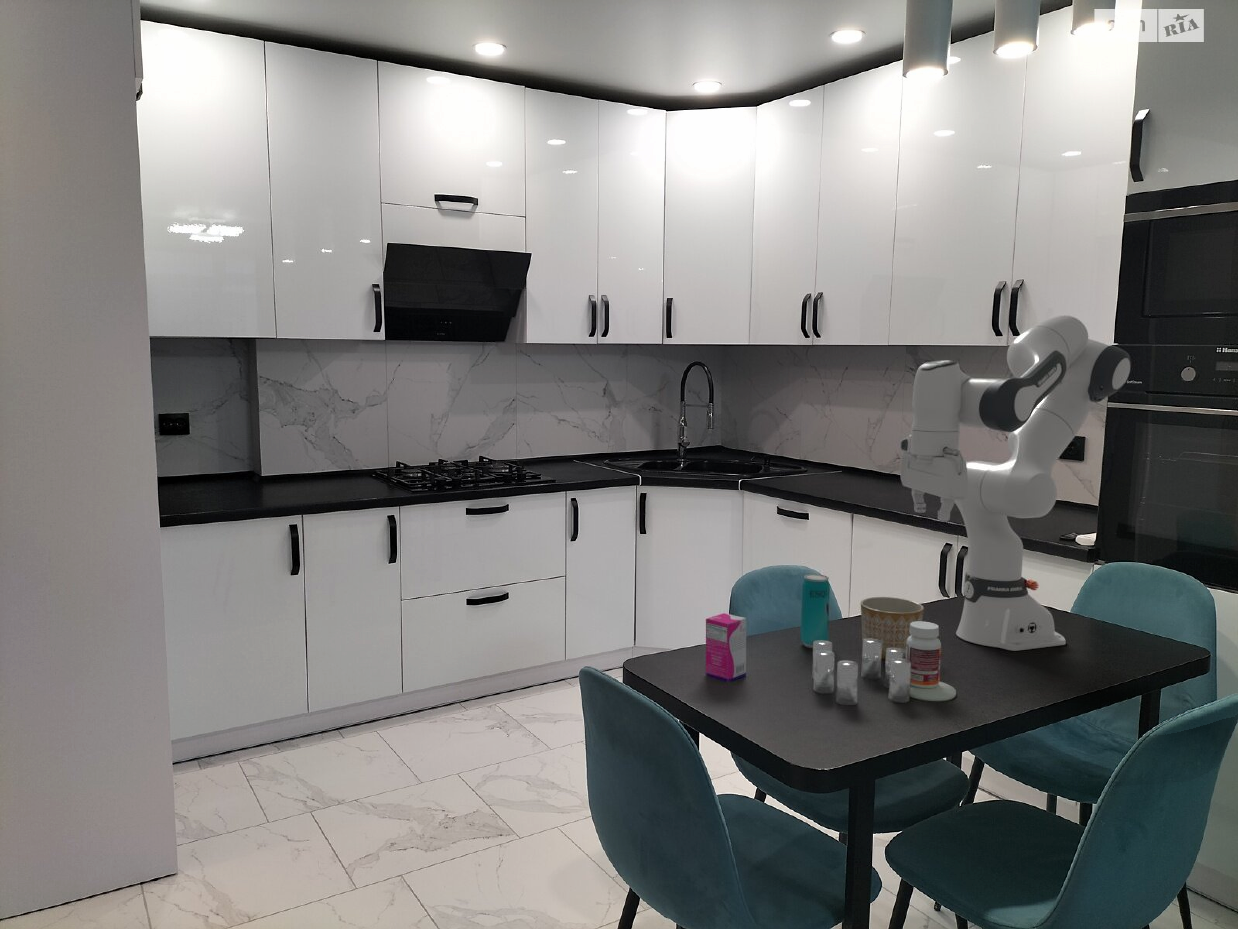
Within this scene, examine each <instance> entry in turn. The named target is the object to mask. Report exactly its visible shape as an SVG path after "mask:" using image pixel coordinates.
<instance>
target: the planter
mask: <svg viewBox="0 0 1238 929" xmlns="http://www.w3.org/2000/svg"><path fill="white" fill-rule="evenodd" d="M924 607H925V606H923V605H922V603H919V602H917V601H913V600H911V599H905V598H902V597H901V598H900V597H891V596H875V597H868V598H867V597H866V598H865V599H864V598H863V599H862V600H861V601H860V618H861V619H860V620H861V635H862V637H861V639H862V640H861V641H863V639H867V638H873V639H878V640H881V641H882V654H881V660H886V649H887V648H901V649H904V650H906V643H907V639H908V637H909V636H911V634H910V633H909V630H910V623H912V622H916V621H923V617H924V616H923V615H924V612H925V611H924V610H925V608H924Z"/></svg>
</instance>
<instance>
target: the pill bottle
mask: <svg viewBox="0 0 1238 929" xmlns="http://www.w3.org/2000/svg"><path fill="white" fill-rule="evenodd" d="M939 628H940V627H939V625H938V624H936V623H934V622H930V621H923V620H922V621H916V622H912V623H910V630H909V633H910V634H911V636H909V637H908V639H907V643H906V660H909V661H911V675H910V685H911V686H914V687H918V688H935V687H937V686H938V685H939V682H940V680H941V679H940V678H941V657H942V656H941V655H942V643H941V640H940V639H939V638H938V637H939V636H940V629H939Z"/></svg>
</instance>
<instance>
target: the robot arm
mask: <svg viewBox="0 0 1238 929" xmlns="http://www.w3.org/2000/svg"><path fill="white" fill-rule="evenodd" d="M1006 361H1007V366H1008V368H1009V371H1010V372H1011V375H1013V376H1014V377H1009V378H1006V377H1005V378H976V377H971V375H970V376H969V375H968V374H966V373H965V372H963V371H962V370H961V368H960V364H959V362H958V361H954V360H949V359H948V360H947V359H945V360H944V359H941V360H933V361H932V360H931V361H927V362H925V363H923V364H921V365H920V366H919V367H918V369H917V370H916V373H915V375H914V376H915V378H914V382H913V389H912V406H911V407H912V412H913V421H912V425H911V429H910V431H911V432H910V434H909V435H908V436H907V437H905V438H902V439H900V441H899V451H902V453H901V455H900V456H901V457H900V464H899V466H900V467H899V468H900V481H901V484H902V486H903V487H907V488H908V489H911V496H912V500H913V511H914V512H915V513H920V514H921V513H926V511H927V509H926V508H927V504H926V503H925V499H924V495H925V494H926V493H927V494H929V495H934V496H936V497H940V503H941V505H940V509H939V510H937V520H939V521H941V522H949V521H950V519H951V511H952V509H953V508H954V505H956V506H957V508H958V510H959V512H960V514H961V517H962V519H963V523H964V527H965V530H966V534H967V536H966V537H967V548H968V549H967V572H965V573H964V574H965V575H964V584H963V585H964V586H963V587H964V588H963V593H964V594H963V595H964V602H963V609H962V613H961V618H960V621H959V625H958V627H957V630H956V632H955V634H956V636H957V637H958V638H959V639H962V640H963V641H966V642H969V643H973V644H977V645H980V646H985V647H986V646H987V647H991V648H1000V649H1003V650H1007V651H1013V652H1016V651H1025V650H1032V649H1041V648H1047V647H1048V648H1050V647H1057V646H1064V645H1066V639H1065V637H1064V636H1063V635H1062V634H1060V633H1059V632H1057V631H1055V628H1056V627H1055V620H1054V616H1053V614H1052V613H1051V612H1050V611H1049V610H1048V609H1047V608H1046V607H1044V606H1043V605H1042V603H1040V602H1038V601H1037V600H1036V599H1035V598H1034V597H1033V596H1031V595H1030V594H1029V590H1028V589H1030V590H1031V591H1037V590H1038V588H1039V586H1040V585H1039V583H1038V582H1037V581H1035V580H1033V579H1028V580H1027V579H1026V578H1025V577H1023V576H1022V575H1023V574H1022V572H1023V556H1024V554H1023V553H1024V545H1023V541H1022V539H1021V537H1020V536H1019V535H1018V534H1016V532H1015V531H1014V530H1013V529H1012V527H1011V525H1010V523H1009V520H1008V517H1013V518H1018V519H1031V518H1032V519H1034V518H1035V519H1036V518H1041V517H1045V516H1046V515H1047V514H1049V512H1050V511H1051V510H1052V509H1053V507H1054V506H1055V504H1056V502H1057V498H1058V497H1057V496H1058V492H1057V486H1056V485H1057V484H1056V482H1055V481H1054V478H1053V477H1052V470H1053V467H1054V466H1055V464H1056V463H1057V461H1058V460H1059V458H1060V456H1061V455H1062V454H1063V453H1064V451H1065V450H1066V449H1067V447H1068V446H1069V445H1070V443H1072V441H1073V439H1075V438H1076V436H1077V434H1078V432H1079V431H1080V430H1081V428H1082V426H1083V424H1084V423H1085V421H1086V419H1087V418H1088V415H1089V413H1090V410H1091V407H1092V406H1091V405H1092V404H1091V403H1100V402H1102V401H1104V399H1105V398H1107V397H1110V396H1112V395H1114V394H1116V393H1117V392H1119V391H1120V390H1121V389H1122V388H1123V387H1124V386H1125V384H1126V382H1127V380H1128V378H1129V377H1130V373H1131V369H1132V360H1131V357H1130V355H1129V353H1128V352H1127V351H1126V350H1124V349H1122V348H1121V347H1118V346H1115V345H1113V344H1112V345H1109V344H1106V343H1103V342H1100V341H1097V340H1094V339H1090V338H1089V332H1088V329H1087V327H1086V326H1085V324H1084V322H1082V321H1081V320H1080V319H1078V318H1077V317H1075V316H1072V315H1058V316H1055V317H1052V318H1049V319H1046V320H1043V321H1041V322H1040V323H1037V324H1035V325H1033V326H1032V327H1030V328H1028V329H1027V330H1026V331H1024V332H1022V333H1021V334H1020V335H1018V336H1017V337H1016V338H1015V339H1014V340H1013V341H1012V342H1011V343H1010V344H1009V346H1008V349H1007V352H1006ZM960 427H962V428H963V427H966V428H974V429H976V428H977V429H987V430H988V429H989V430H994V431H1000V432H1005V433H1009V434H1008V438H1007V446H1008V450H1009V452H1010V453H1011V456H1010V458H1009V459H1008V460H1007V461H1005V462H1003V463H1002V462H1001V463H1000V462H999V463H998V462H992V461H985V460H970V461H966V460H965V458H964V456H963V455H962V453H961V451H960V433H961V432H960V431H961V430H960V429H961V428H960Z"/></svg>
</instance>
